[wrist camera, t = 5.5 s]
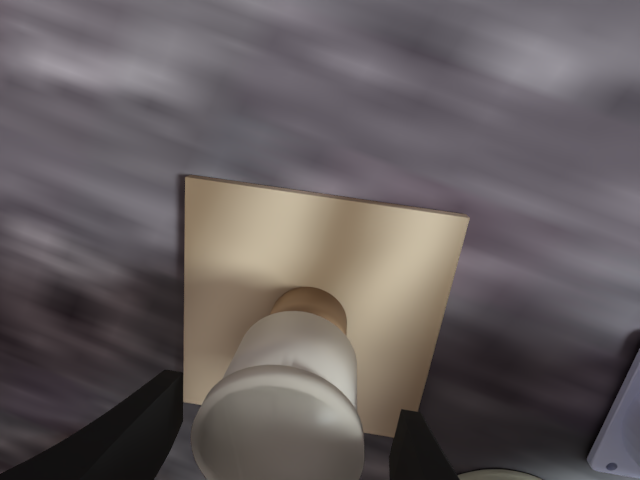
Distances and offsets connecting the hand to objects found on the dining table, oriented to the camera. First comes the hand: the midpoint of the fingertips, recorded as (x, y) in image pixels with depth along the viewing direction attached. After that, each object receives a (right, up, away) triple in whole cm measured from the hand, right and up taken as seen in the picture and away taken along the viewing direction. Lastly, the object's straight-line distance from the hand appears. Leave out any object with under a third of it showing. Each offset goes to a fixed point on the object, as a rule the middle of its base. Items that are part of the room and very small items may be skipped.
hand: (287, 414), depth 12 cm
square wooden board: (+1, +2, +6) cm, 6 cm away
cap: (0, +1, +2) cm, 2 cm away
